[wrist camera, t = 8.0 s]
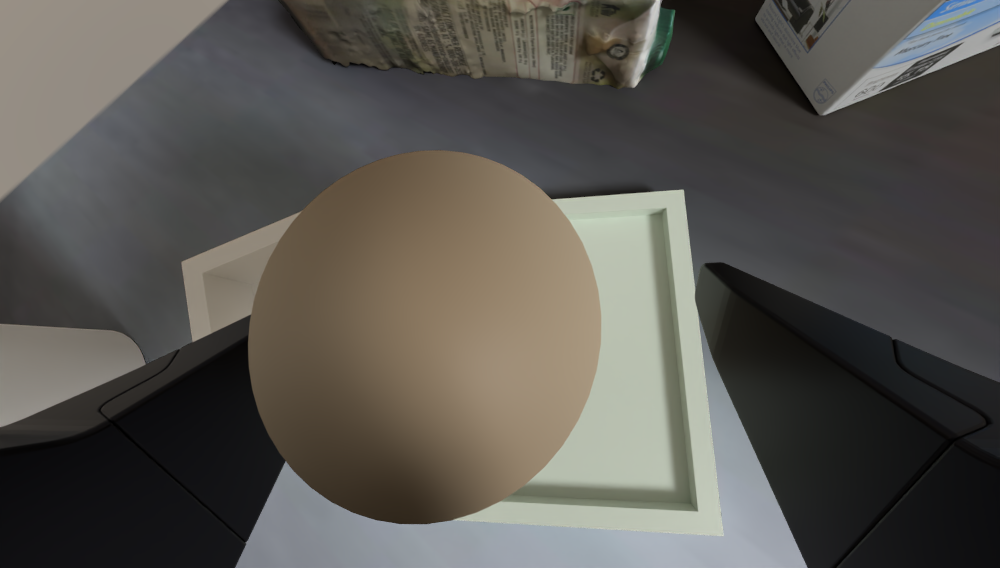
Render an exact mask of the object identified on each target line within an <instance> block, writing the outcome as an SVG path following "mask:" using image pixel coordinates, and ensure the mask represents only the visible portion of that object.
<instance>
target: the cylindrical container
mask: <svg viewBox="0 0 1000 568" xmlns="http://www.w3.org/2000/svg"><path fill="white" fill-rule="evenodd" d="M144 365H146V364H145V361H144V357H143V354H142V353H141V351H140V349H139V347H138V346H137V344H136V343H135V342H134V341H133V340H132V339H131V338H129V337H128V336H126V335H124V334H123V333H120V332H116V331H112V330H95V329H78V328H62V327H45V326H28V325H11V324H0V427H3V426H6V425H9V424H11V423H14V422H16V421H19V420H21V419H24V418H26V417H29V416H31V415H33V414H35V413H38V412H40V411H42V410H45V409H47V408H49V407H51V406H54V405H56V404H58V403H61V402H63V401H65V400H67V399H70V398H72V397H74V396H77V395H79V394H81V393H83V392H86V391H88V390H90V389H93V388H95V387H97V386H99V385H102V384H104V383H106V382H108V381H111V380H113V379H115V378H117V377H120V376H122V375H124V374H126V373H128V372H131V371H133V370H135V369H137V368H139V367H141V366H144Z"/></svg>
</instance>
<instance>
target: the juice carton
mask: <svg viewBox="0 0 1000 568" xmlns="http://www.w3.org/2000/svg"><path fill="white" fill-rule="evenodd" d="M279 2H280V3H281V4H282V5H283V6H284V7H285V9H286V10H287V11H288V12H289V13H290V15H291V16H292V18H293V19H294V21H295V22H296V24H297V25H298V27H299V28H300V29H301V30H302V31H303V33H304V34H305V35H306V36H307V37H308V38H309V39H310V40H311V41H312V43H313V44H314V46H315V47H316V48H317V50H318V51H319V52H320V54H321V55H322V56H323V57H324V58H325V59H330V60H332V62H333V64H334V65H335V64H336V63H337V62H340V63H341V64H342V65H344V66H346V67H348V66H349V62H352V63H356V64H360V63H364V64H366V65H368V66H370V67H371V66H376V67H377V68H379V69H381V70H388V69H390V68H392V67H399V68H408V69H410V70H412V71H414V72H416V73H421V74H424V73H423V71H426V72H429V71H431V72H433V74H434V73H439V74H444V75H447V76H451V77H454V76H457V75H461V74H464V75H469V76H470V77H471V78H474V79H477V78H482V77H483V76H486V77H517V78H530V79H539V80H545V81H560V82H567V83H571V84H586V83H591V84H596V85H605V84H607V85H611V86H613V87H615V88H617V89H620V88H622V87H632V88H634V87H635V86H636V85H637V84H638V82H639V81H640V80H641V79H642V78H643V76H644V75H646V74H647V73H648V72H649V71H651V70H653V69H655V68H657V67H658V66H660V65H661V64H662V63H663V61H664V59H665V56H666V54H667V51H668V48H669V44H670V41H671V38H672V34H673V22H674V16H675V10H670V9H665V8H662V7H660V6H661V3H662V0H279Z"/></svg>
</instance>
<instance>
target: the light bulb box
mask: <svg viewBox="0 0 1000 568" xmlns="http://www.w3.org/2000/svg"><path fill="white" fill-rule="evenodd" d="M755 21H756V22H757V24H758V25H759V26H760V28H761V29H762V31H763V32H764V34H765V35H766V37H767V38H768V40H769V41H770V43H771V44H772V46H773V47H774V49H775V50H776V52H777V53H778V55H779V56H780V58H781V59H782V61H783V62H784V64H785V65H786V67H787V68H788V70H789V71H790V73H791V74H792V75H793V77H794V78H795V80H796V81H797V83H798V84H799V86H800V87H801V89H802V90H803V92H804V93H805V95H806V96H807V98H808V99H809V101H810V102H811V104H812V105H813V107H814V108H815V110H816V111H817V113H818V114H819V115H826V114H828V113H831V112H833V111H836V110H838V109H841V108H843V107H846V106H848V105H851V104H853V103H856V102H858V101H861V100H863V99H866V98H868V97H871V96H873V95H876V94H878V93H881V92H883V91H886V90H888V89H891V88H893V87H896V86H898V85H900V84H903V83H905V82H908V81H910V80H913V79H915V78H918V77H920V76H923V75H925V74H928V73H931V72H933V71H936V70H938V69H941V68H943V67H946V66H948V65H951V64H953V63H956V62H958V61H961V60H963V59H965V58H968V57H970V56H973V55H975V54H978V53H980V52H983V51H985V50H988V49H990V48H993V47H995V46H998V45H1000V0H765V2H764V4H763V5H762V7H761V9H760V10H759V12H758V14H757V16H756V18H755Z"/></svg>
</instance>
